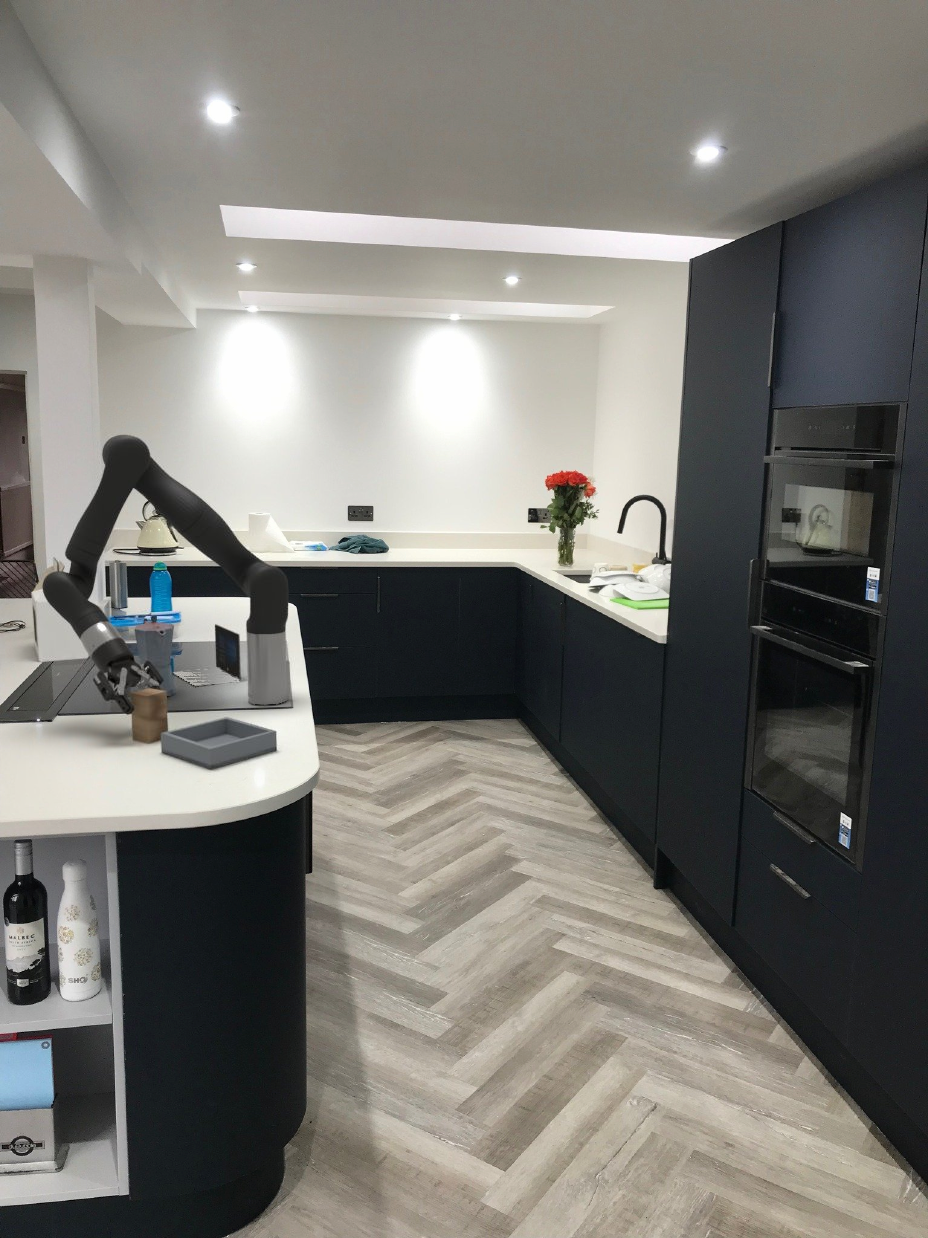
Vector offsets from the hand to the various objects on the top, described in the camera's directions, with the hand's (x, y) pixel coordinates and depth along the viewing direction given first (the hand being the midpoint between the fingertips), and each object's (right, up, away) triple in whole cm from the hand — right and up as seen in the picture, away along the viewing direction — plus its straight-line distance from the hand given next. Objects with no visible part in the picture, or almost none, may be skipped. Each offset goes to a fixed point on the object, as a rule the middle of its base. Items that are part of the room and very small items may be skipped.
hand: (147, 707), depth 197 cm
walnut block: (0, -7, +1) cm, 7 cm away
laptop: (-3, +2, +56) cm, 56 cm away
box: (+17, -8, -7) cm, 20 cm away
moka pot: (-11, 0, +38) cm, 39 cm away
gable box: (-54, +8, +85) cm, 101 cm away
